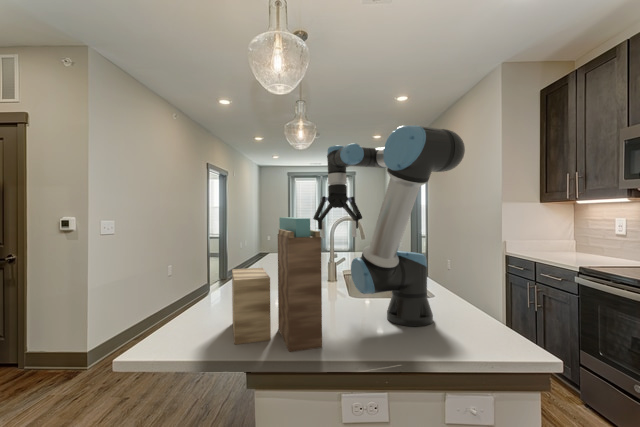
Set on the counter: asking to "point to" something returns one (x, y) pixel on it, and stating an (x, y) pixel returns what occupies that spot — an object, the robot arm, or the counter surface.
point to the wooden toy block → (251, 305)
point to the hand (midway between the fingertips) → (338, 237)
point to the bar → (296, 225)
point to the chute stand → (300, 290)
